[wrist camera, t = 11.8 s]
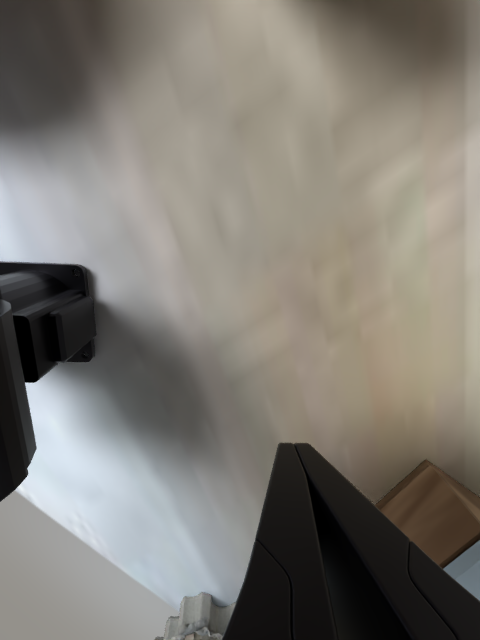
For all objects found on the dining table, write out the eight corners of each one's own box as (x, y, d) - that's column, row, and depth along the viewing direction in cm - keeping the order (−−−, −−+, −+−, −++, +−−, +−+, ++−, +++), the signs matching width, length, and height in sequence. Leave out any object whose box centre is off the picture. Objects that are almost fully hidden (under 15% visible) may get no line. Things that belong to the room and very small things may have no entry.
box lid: (332, 655, 22) (336, 673, 21) (490, 531, 19) (502, 545, 18) (432, 710, 24) (439, 728, 23) (592, 604, 21) (607, 620, 20)
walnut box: (312, 562, 28) (333, 648, 22) (425, 459, 25) (483, 528, 19) (388, 604, 30) (425, 693, 25) (502, 513, 27) (574, 591, 22)
